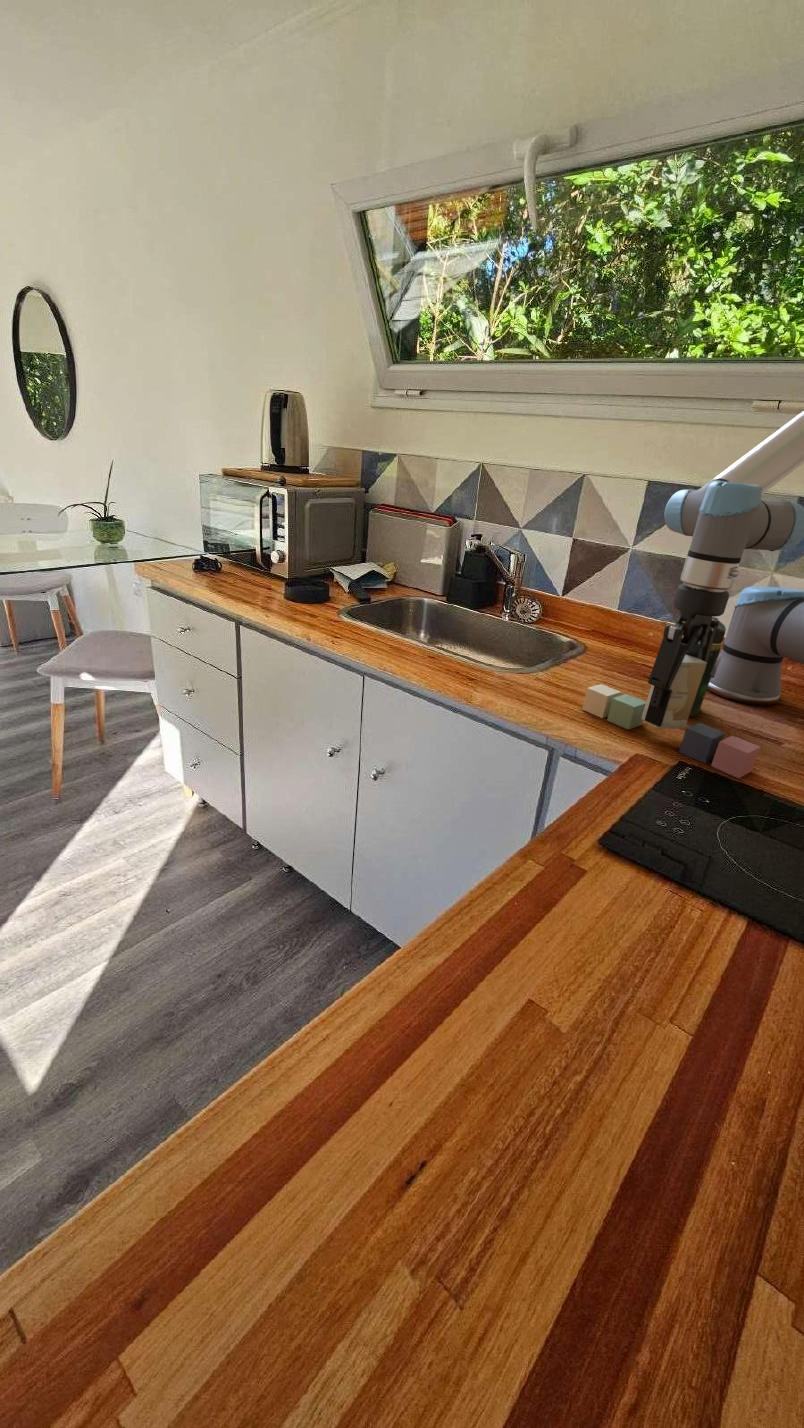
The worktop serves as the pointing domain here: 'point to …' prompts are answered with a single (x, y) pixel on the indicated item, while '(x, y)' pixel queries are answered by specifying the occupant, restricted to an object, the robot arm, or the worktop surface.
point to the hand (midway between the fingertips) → (664, 718)
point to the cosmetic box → (680, 694)
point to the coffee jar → (709, 668)
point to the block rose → (735, 756)
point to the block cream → (599, 700)
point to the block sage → (626, 711)
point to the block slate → (701, 742)
